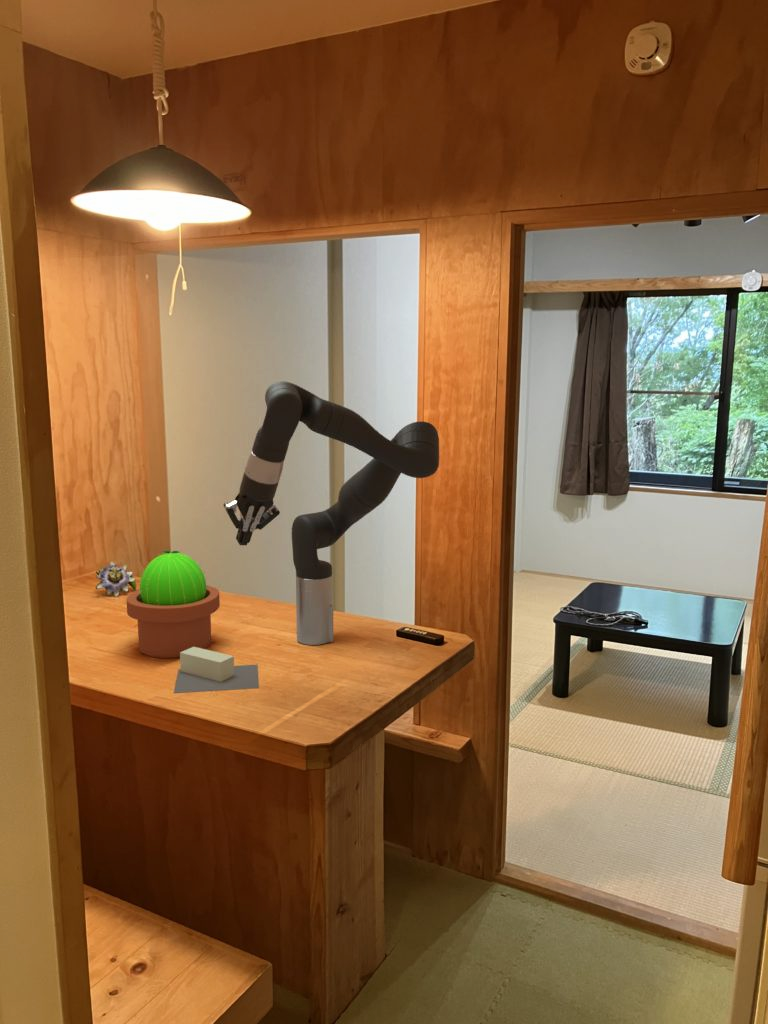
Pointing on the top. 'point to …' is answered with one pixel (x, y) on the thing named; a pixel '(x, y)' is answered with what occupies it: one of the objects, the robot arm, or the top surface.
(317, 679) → the top surface
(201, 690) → the rubber mat
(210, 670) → the sage block
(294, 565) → the robot arm
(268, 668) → the top surface
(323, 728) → the top surface
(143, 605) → the potted cactus
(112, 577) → the passion flower
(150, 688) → the top surface
